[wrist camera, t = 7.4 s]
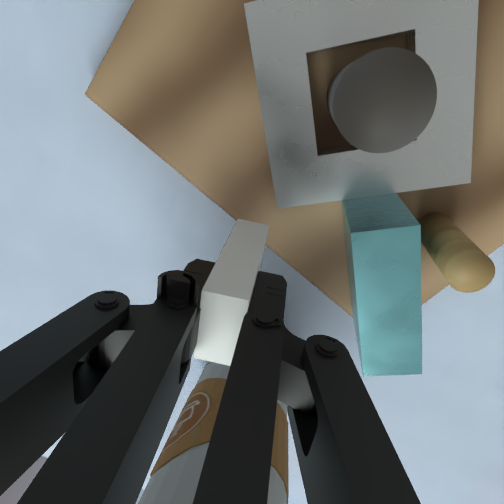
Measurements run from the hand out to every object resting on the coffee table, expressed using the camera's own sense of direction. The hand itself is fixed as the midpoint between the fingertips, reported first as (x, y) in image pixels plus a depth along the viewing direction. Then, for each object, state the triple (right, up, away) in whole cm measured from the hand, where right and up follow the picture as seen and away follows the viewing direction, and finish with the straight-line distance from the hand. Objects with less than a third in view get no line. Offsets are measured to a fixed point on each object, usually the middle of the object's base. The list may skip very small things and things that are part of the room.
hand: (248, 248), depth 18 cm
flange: (+6, +4, +1) cm, 7 cm away
